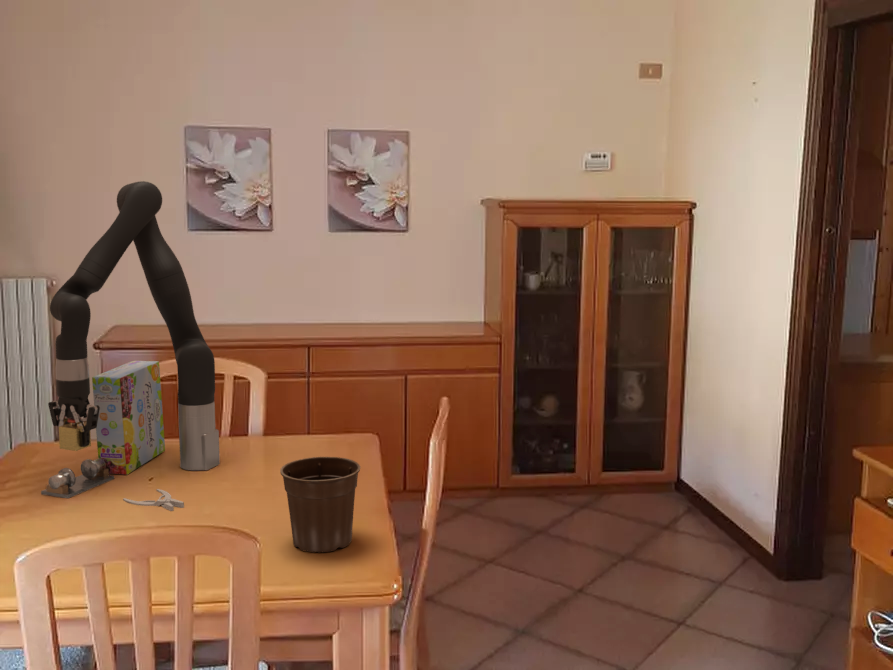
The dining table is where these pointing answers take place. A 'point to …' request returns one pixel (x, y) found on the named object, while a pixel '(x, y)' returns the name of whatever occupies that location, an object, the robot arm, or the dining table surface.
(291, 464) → the plant pot
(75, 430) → the push button
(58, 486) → the flanged cylinder mounting plate
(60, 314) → the robot arm
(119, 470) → the snack box
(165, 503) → the pliers
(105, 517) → the dining table surface
